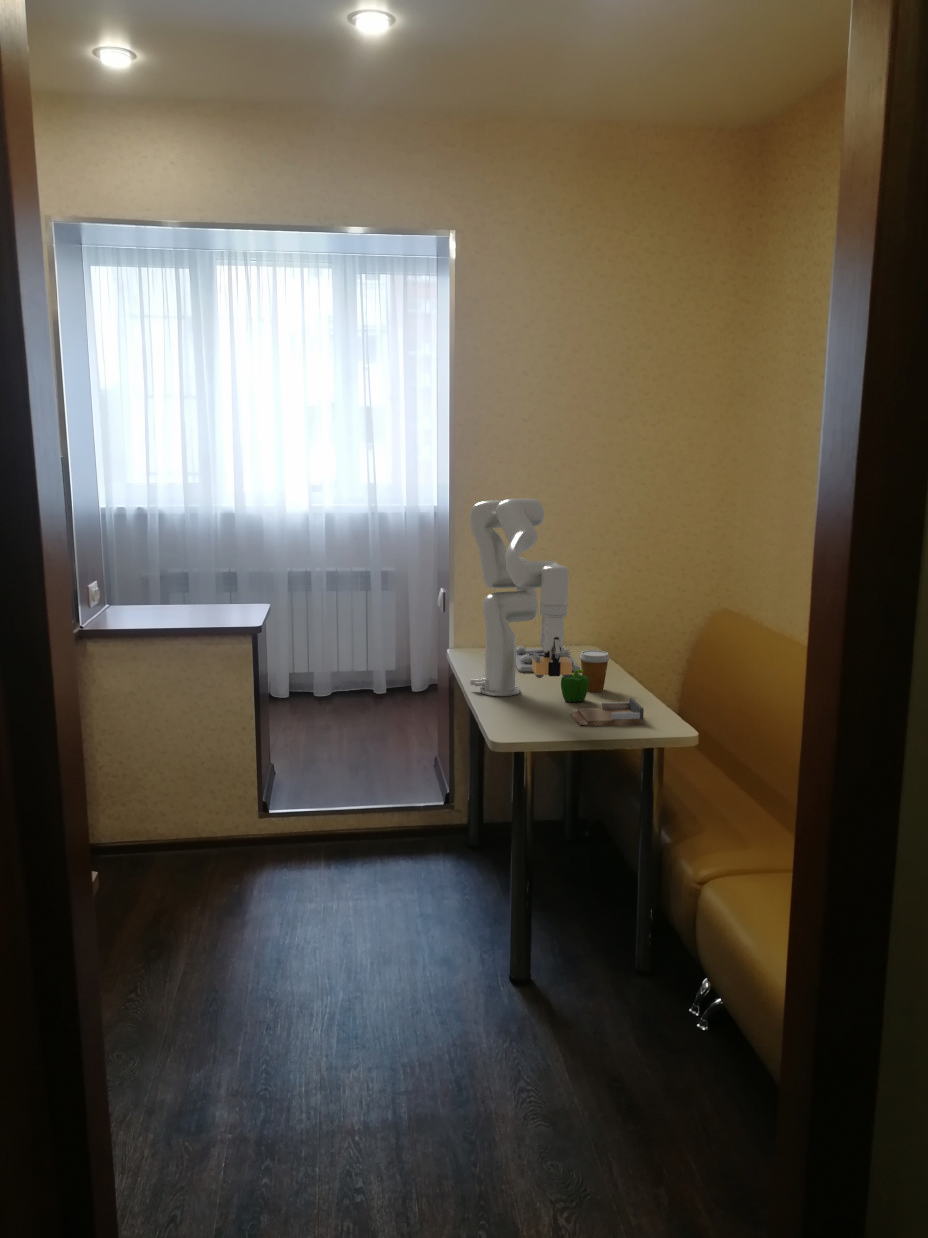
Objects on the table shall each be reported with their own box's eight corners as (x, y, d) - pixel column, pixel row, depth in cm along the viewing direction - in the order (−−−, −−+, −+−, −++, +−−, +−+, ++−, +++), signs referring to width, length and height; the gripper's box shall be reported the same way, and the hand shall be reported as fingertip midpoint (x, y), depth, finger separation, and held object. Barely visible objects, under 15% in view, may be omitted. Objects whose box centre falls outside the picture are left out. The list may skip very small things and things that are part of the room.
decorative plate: (507, 655, 347) (508, 636, 346) (564, 654, 349) (565, 635, 348) (518, 674, 318) (519, 654, 317) (581, 674, 320) (581, 653, 318)
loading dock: (580, 726, 259) (580, 710, 258) (570, 713, 270) (571, 698, 270) (643, 724, 261) (644, 709, 260) (631, 712, 272) (632, 697, 271)
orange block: (535, 679, 258) (536, 657, 257) (531, 673, 264) (532, 651, 263) (571, 678, 259) (572, 657, 258) (566, 672, 266) (567, 651, 264)
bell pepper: (554, 699, 285) (555, 668, 284) (573, 695, 290) (574, 664, 288) (573, 706, 279) (574, 673, 277) (593, 701, 284) (594, 669, 282)
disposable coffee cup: (607, 694, 292) (609, 657, 289) (577, 692, 294) (578, 655, 291) (609, 687, 301) (610, 650, 299) (579, 685, 303) (580, 649, 300)
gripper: (534, 604, 266) (532, 665, 270) (546, 616, 249) (544, 681, 253) (560, 603, 267) (558, 664, 271) (574, 616, 250) (571, 680, 254)
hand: (551, 672), depth 262 cm, fingers closed on orange block, 6 cm apart
